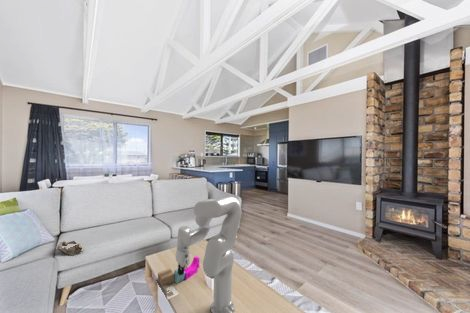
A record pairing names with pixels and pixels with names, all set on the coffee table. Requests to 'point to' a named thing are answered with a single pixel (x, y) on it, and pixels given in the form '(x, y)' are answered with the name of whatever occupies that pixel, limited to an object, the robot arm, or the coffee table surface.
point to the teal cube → (177, 277)
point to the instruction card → (171, 292)
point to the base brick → (165, 277)
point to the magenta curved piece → (192, 268)
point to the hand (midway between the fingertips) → (180, 273)
